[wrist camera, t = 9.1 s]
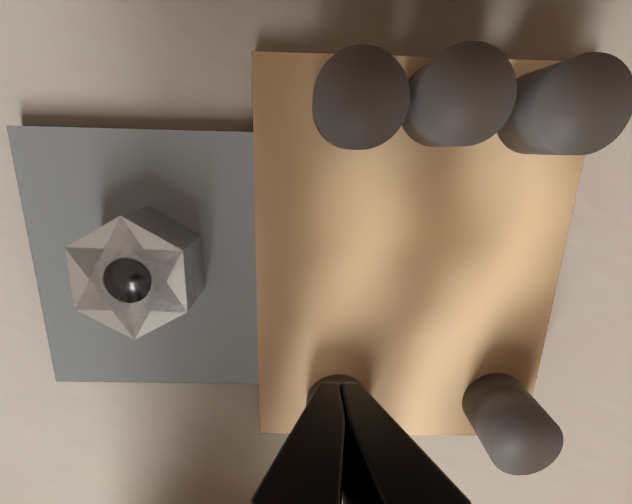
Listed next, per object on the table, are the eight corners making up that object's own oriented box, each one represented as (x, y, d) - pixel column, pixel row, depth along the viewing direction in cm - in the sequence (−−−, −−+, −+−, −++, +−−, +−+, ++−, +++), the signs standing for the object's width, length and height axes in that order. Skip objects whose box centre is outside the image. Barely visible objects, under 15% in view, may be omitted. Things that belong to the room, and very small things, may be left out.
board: (261, 422, 20) (250, 483, 16) (254, 56, 15) (236, 26, 11) (515, 424, 20) (561, 486, 17) (590, 66, 15) (678, 40, 12)
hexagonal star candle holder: (111, 311, 17) (78, 339, 15) (97, 203, 16) (58, 214, 13) (206, 314, 17) (188, 341, 15) (200, 206, 16) (180, 217, 13)
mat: (66, 371, 19) (55, 381, 18) (21, 126, 16) (6, 125, 15) (260, 374, 19) (258, 383, 18) (256, 133, 16) (253, 132, 15)
